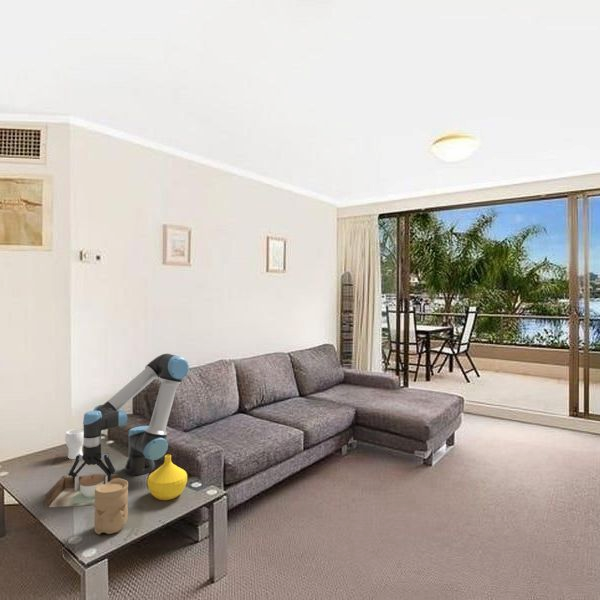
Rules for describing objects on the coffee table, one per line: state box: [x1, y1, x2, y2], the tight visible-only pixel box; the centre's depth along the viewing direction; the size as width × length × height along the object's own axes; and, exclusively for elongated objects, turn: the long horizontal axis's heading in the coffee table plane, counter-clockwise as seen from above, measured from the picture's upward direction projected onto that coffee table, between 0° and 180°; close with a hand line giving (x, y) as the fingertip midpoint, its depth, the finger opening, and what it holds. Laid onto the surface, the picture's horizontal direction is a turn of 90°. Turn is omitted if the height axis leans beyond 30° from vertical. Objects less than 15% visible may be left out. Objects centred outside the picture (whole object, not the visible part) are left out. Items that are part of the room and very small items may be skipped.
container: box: [93, 477, 129, 536], centre depth 173 cm, size 13×13×18 cm
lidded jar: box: [79, 473, 105, 498], centre depth 198 cm, size 11×11×9 cm
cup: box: [64, 428, 84, 460], centre depth 244 cm, size 11×11×15 cm
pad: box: [70, 491, 95, 504], centre depth 198 cm, size 14×14×1 cm
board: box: [45, 488, 95, 508], centre depth 199 cm, size 26×18×1 cm
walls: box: [45, 473, 119, 507], centre depth 199 cm, size 26×18×6 cm
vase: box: [147, 454, 188, 501], centre depth 201 cm, size 18×18×19 cm
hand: (92, 489), depth 198 cm, fingers open, 13 cm apart
